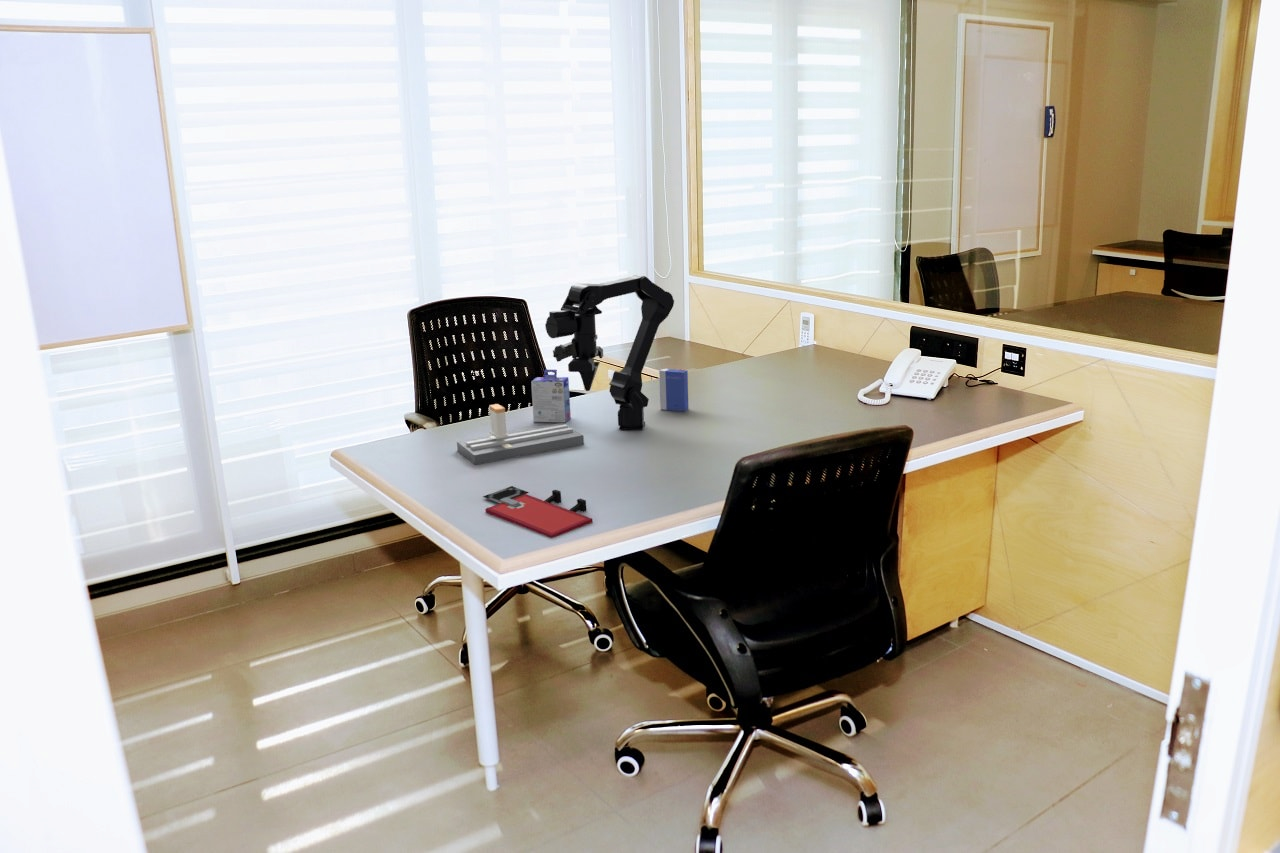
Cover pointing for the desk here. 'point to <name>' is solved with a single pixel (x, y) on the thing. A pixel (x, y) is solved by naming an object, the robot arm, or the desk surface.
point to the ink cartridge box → (550, 398)
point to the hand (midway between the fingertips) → (587, 390)
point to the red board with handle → (537, 511)
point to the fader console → (519, 443)
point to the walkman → (674, 389)
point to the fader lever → (498, 421)
